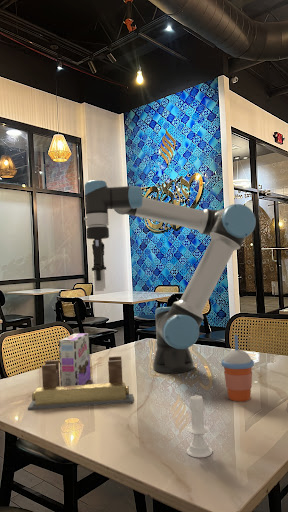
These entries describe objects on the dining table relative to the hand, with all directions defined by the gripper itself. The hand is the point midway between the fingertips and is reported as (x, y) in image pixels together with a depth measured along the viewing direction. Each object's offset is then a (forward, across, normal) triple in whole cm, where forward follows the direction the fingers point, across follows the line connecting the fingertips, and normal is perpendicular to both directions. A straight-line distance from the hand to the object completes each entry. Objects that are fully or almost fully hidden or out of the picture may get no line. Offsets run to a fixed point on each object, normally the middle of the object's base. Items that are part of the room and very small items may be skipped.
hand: (100, 289), depth 140 cm
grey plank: (+32, +18, -6) cm, 37 cm away
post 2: (+32, +10, +4) cm, 33 cm away
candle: (+32, +54, +22) cm, 67 cm away
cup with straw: (+32, +23, +39) cm, 56 cm away
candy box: (+32, -2, -10) cm, 33 cm away
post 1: (+32, +10, -16) cm, 37 cm away
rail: (+31, +17, -6) cm, 36 cm away
